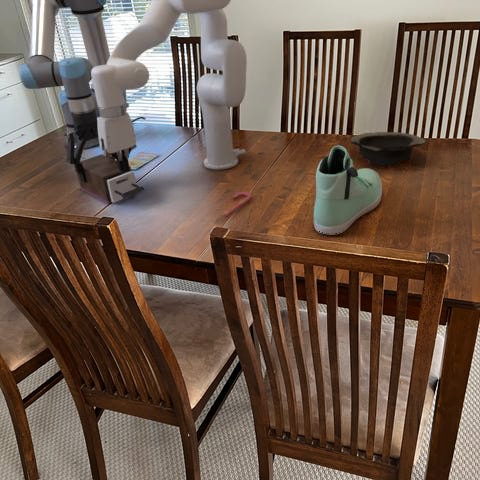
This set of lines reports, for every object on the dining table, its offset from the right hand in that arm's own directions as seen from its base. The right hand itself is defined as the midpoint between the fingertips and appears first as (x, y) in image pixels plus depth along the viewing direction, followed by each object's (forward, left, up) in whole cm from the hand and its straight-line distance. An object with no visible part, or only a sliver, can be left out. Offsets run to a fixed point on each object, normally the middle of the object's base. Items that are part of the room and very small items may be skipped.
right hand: (124, 170), depth 146 cm
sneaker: (-55, +39, -11) cm, 68 cm away
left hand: (+6, -18, -7) cm, 20 cm away
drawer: (+2, -8, -10) cm, 13 cm away
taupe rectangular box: (+4, -14, -11) cm, 18 cm away
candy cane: (-27, +20, -11) cm, 36 cm away
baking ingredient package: (-11, -34, -11) cm, 37 cm away
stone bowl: (-87, +16, -11) cm, 89 cm away
